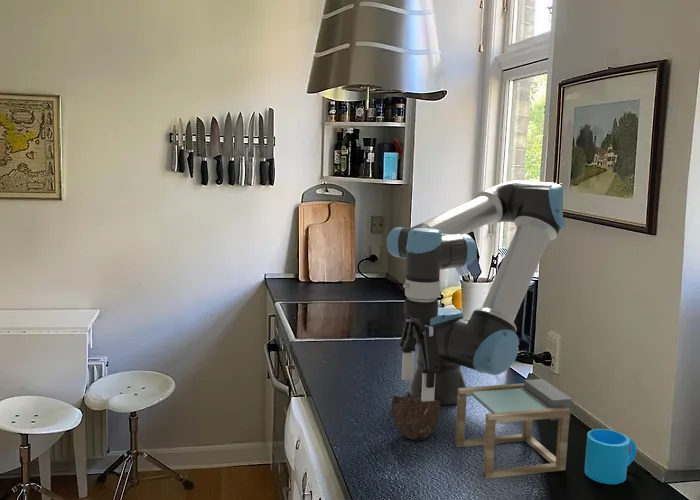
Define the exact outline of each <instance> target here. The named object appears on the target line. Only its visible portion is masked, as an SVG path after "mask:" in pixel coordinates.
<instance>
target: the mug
mask: <svg viewBox="0 0 700 500" xmlns="http://www.w3.org/2000/svg"><path fill="white" fill-rule="evenodd" d="M629 450H630V452H629ZM636 455H637V445H636V443H635V441H633V439H631V438H630V437H628V436H627V435H625V434H624V433H621V432H618V431H615V430H612V429H607V428H597V429H596V428H595V429H591V430H589V431H588V432H587V435H586V447H585V459H584V474H585V475H586V476H587V477H588V478H589V479H591V480H593V481H595V482H597V483H600V484H606V485H620V484H619V483H621V484H622V482H623V483H625V482H626V480H627V474H628V473H627V472H628V467H629V466H630V465H631V464H632V462H633V461H634V459H635V458H636ZM624 481H625V482H624Z"/></svg>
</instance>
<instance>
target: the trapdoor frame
mask: <svg viewBox="0 0 700 500" xmlns="http://www.w3.org/2000/svg"><path fill="white" fill-rule="evenodd" d="M521 387H523V388H524V382H522V383H510V384H509V383H507V384H496V385H495V384H494V385H481V386H479V385H478V386H466V387H465V388H458V393H457V404H456V413H455V415H456V416H455V418H456V419H455V421H456V422H455V437H454V438H455V440H454V442H455V443H454V445H455V446H456V447H457V448H465V447H474V446H476V447H477V446H483V460H482V462H483V463H482V476H483V477H484V479H495V478H506V477H513V476H515V477H516V476H523V475H533V474H541V473H551V472H561V471H566V468H567V467H566V466H567V457H568V455H567V453H568V442H569V441H568V440H569V439H568V438H569V427H570V419H569V417H570V418H571V415H570V409H568V408H567V407H560V408H548V409H536V410H524V411H512V412H501V413H491V412H489V413H486V414H485V422H484V423H485V425H484V426H485V427H484V437H474V438H465V433H466V431H465V429H466V416H467V415H466V411H467V397H473V396H472V392H479V391H492V390H505V389H518V388H521ZM549 418H559V420H558V422H557V425H558V426H557V438H556V440H557V441H556V451H555V452H556V453H555V455H554V454H553V453H552V452H550V450H549V449H547V448H546V447H545V446H544V445H543V444H541V443H540V442H539V441H538V440H537V439H535V438H534V437H533V436H532V434H533V433H532V432H533V431H532V429H533V421H535V420H550V419H549ZM513 422H522V431H521V432H522V433H518V434H517V433H516V434H507V435H505V434H504V435H497V436H496V426H497V425H496V424H503V423H513ZM515 442H516V443H517V442H526V443H527V444H528V445H529V446H531V447H532V448H533V450H535V451H536V452H537V453H538V454H539V455H540V456H542V457H543V458H544V459H545V460H546V461H547V462H548V463H542V464H534V465H523V466H514V467H504V468H496V469H494V457H495V444H504V443H515Z"/></svg>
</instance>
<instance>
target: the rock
mask: <svg viewBox="0 0 700 500" xmlns="http://www.w3.org/2000/svg"><path fill="white" fill-rule="evenodd" d="M440 407H441V405H440V401H438V400H434V401H421V398H413V397H411V396H402V395H400V396H399V395H393V397H392V401H391V410H390V412H391V413H390V415H391V416H392V418H393V420H394V424H395V426H396V427H397V428H398V432H399V433H400V434H401V436H402V437H404V438H405V439H410V440H412V441H416V442H420V441H424V440H426V439H427V438H428V437H430V436H431V435H432V433H433V432H434V431H435V430H436V428H437V423H438V419H439V413H440Z"/></svg>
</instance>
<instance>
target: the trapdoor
mask: <svg viewBox="0 0 700 500" xmlns="http://www.w3.org/2000/svg"><path fill="white" fill-rule="evenodd" d="M523 383H524V388H523V387H521V388H518V389H505V390H492V391H479V392H472V396H471V397H473V399H475V400H476V401H477V402H478V403H480V404H481V406H482V407H484V408H485V409H486V410H487V411H488V412H489V413H501V412H512V411H524V410H536V409H548V408H560V407H567V408H568V409H570V417H569V420H571V413H572V412H571V411H572V401H573V400H572V399H573V398H571V397H569V395H567V394H565V393H563V392H562V391H561V390H560V389H558V388H556V387H555V386H553V385H552V384H550V383H549V382H547V381H546V380H544V379H543V378H539V379H524V382H523ZM548 420H550V421H551V422H553V421H559V418H549V419H548Z"/></svg>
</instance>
